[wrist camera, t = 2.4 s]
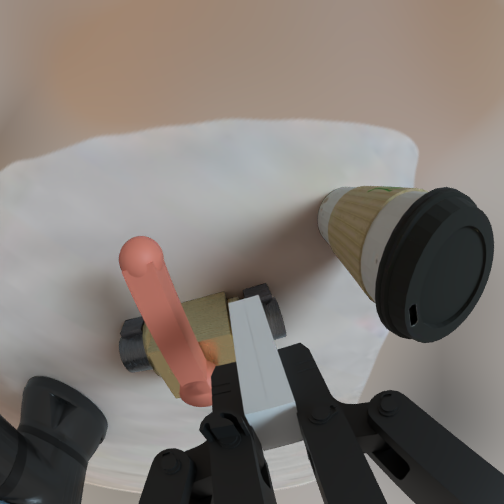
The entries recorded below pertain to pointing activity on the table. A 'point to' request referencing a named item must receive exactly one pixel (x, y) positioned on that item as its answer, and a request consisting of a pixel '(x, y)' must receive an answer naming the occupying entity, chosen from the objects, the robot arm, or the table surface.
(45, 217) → the table surface
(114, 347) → the table surface
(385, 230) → the coffee cup
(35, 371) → the table surface
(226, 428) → the robot arm
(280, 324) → the pipe run
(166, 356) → the lever
